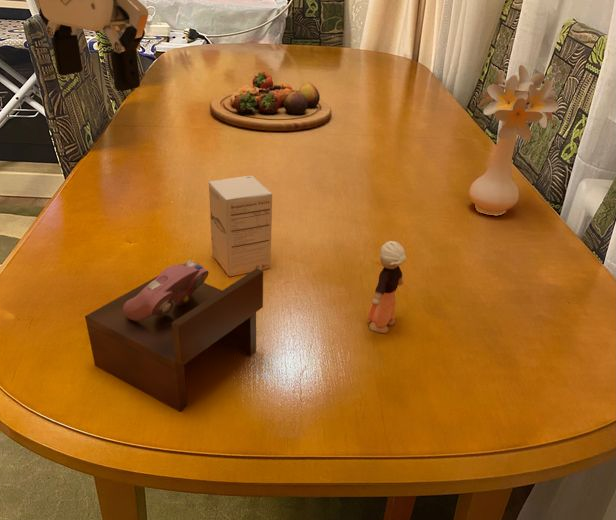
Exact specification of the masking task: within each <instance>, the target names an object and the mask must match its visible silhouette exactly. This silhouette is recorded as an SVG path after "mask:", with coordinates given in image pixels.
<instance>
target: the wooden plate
mask: <svg viewBox="0 0 616 520" xmlns="http://www.w3.org/2000/svg"><path fill="white" fill-rule="evenodd" d="M320 95H321V94H320V92H319V90H318V89H317V87H316V86H315V84H313V83H311V82H310V81H306V82H304V83H303V84H302V85H301V86H300V87H299V89H293V88H292V86H291V85H290V84H288V83H279V84H274V81H273V78H272V75H271V74H270V73H269V72H268V71H261V72H258V74H257V75H255V74H254V75H253V79H252V84H248V83H247V84H244V85H241V86H240V87H239V88H238V89H237V90H233V91H228V92H224V93H221V94H219V95H217V96H215V97H213V99H212V100H211V101H210V104H209V110H210V112H211V114H212V115H213V116H214V117H216V118H217V119H219V120H220V121H223V122H224V123H227V124H229V125H233V126H237V127H241V128H246V129H250V130H251V129H252V130H262V131H273V132H275V131H277V132H278V131H280V132H284V131H286V132H287V131H299V130H300V131H301V130H307V129H310V128H315V127H318V126H321V125H322V124H324V123H326V122H328V120H329V119H330V118H331V116H332V108H331V106H330V105H329V104H328V102H326V101H325V100H323V99H322V98H321V96H320Z"/></svg>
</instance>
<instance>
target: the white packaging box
mask: <svg viewBox="0 0 616 520" xmlns="http://www.w3.org/2000/svg"><path fill="white" fill-rule="evenodd" d="M208 193H209V194H208V196H209V217H210V219H209V220H210V240H211V241H210V243H211V256H212V257H213V258H214V259H215V261H216V262H217V263H218V264H219V265H220V267H221V268H222V269H223V271H224V272H225V273H226V275H227V276H228V277H235V276H240V275H244V274H245V275H246V274H249V273H250V272H252V271H254V270H255V269H259V270H262V271H263V270H269V269H271V267H272V227H273V225H272V221H273V192H271V190H269V189H268V188H267V187H266V186H264V185H263V183H261V182H260V181H259V180H258V179H256V178H255V177H254V176H253V175H243V176H236V177H229V178H222V179H215V180H209V181H208Z"/></svg>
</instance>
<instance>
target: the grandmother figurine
mask: <svg viewBox="0 0 616 520" xmlns="http://www.w3.org/2000/svg"><path fill="white" fill-rule="evenodd" d="M379 253H380V258H379V259H380V264H381V266H382V270H381V271H380V273H379V274H378V282H377V285H376V288H375V290H374V294H373V298H372V300H371V304H370V307H369V311H368V315H367V320H368V321H371V322H370V323H369V325H368V329H369V330H370V331H372V332H376V333H379V334H387V333H388V332H389V331H390V329H389V326H394V325H395V324H396V320H395V319H394V317H395V314H396V313H395V312H396V304H397V303H396V301H397V300H396V292H397V289H398V287H399V286H400V287H401V286H403V284H404V279H403V272H402V270H401V267H400V266H401V265H403V264H404V263H405V262H406V260H407V256H406V251H405V248H404V246H402V245H401V244H400V243H399V242H397V241H396V240H388V241H386V242H385V243H383V245H381V247H380V251H379Z"/></svg>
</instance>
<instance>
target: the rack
mask: <svg viewBox="0 0 616 520" xmlns="http://www.w3.org/2000/svg"><path fill="white" fill-rule="evenodd" d="M158 276H159V275H157V276H155V277H153V278H151V279H150V280H148V281H146V282H144V283H142V284H141V285H139V286H136V287H135V288H133V289H131V290H130V291H128V292H126V293H123V294H122V295H121V296H119V297H117V298H115V299H113V300H111V301H109V302H108V303H106V304H104V305H103V306H101V307H99V308H96V309H95V310H93V311H91V312H90V313H88V314H86V315H85V316H84V318H85V324H86V329H87V334H88V339H89V343H90V348H91V353H92V357H93V363H94V366H96V367H98V368H100V369H102V370H103V371H105V372H106V373H108V374H110V375H113V376H114V377H116V378H118V379H119V380H122V381H123V382H125V383H127V384H129V385H131V386H132V387H134V388H136V389H138V390H140V391H142V392H144V393H145V394H148V396H150V397H153V398H154V399H156V400H158V401H160V402H161V403H163V404H165V405H167V406H169V407H171V408H173V409H175V410H176V411H177V412H182V411H183V410H185V409H186V408H188V398H187V385H186V377H185V375H186V374H185V366H184V365H186V364H187V363H188V362H190V361H191V360H193V359H194V358H196V357H197V356H198V355H200V354H202V352H204V351H205V350H206V349H208V348H209V347H211V346H212V345H213V344H215V343H216V342H219V343H222V344H224V345H226V346H227V347H230V348H232V349H234V350H236V351H238V352H241V353H243V354H245V355H247V356H249V357H252V356H253V355H254V354H256V352H257V312H258V311H260V310H261V309H262V308H264V271H263V270H259V269H255V270H254V271H252V272H250V273H246V274H245V275H244V276H243V277H241V278H240V279H238V280H236V281H235V282H233V283H231V284H230V285H229V286H226V287H225V288H223V289H220V288H218V287H215V286H213V285H210V284H208V283H205V282H203V283H202V285H201V286H199V287H198V288H197V289H196V290H195V291H194V292H193V293H192V295H191V296H190V298H189V300H188V301H187V302H186V303H184V304H182V305H178V304H176V303H175V302H174V301H173V300H172V302H173V307H172V309H171V310H170V311H169V312H168V313H167V314H166V315H165V316H164V317H161V318H160V317H158V316H157V315H152V316H150V317H148V318H146V319H144V320H141V321H134V320H130V319H128V318H127V317H126V316H125V314H124V311H123V306H124V304H125V303H126V302H127V301H128V300H130V299H132V298H134V297H135V296H137V295H138V294H139V293H140V292H141V291H142V290H143V289H144V288H145V287H146V286H147V285H148V284H149V283H151V282H152V281H153V280H155V279H156V278H157V277H158Z"/></svg>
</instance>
